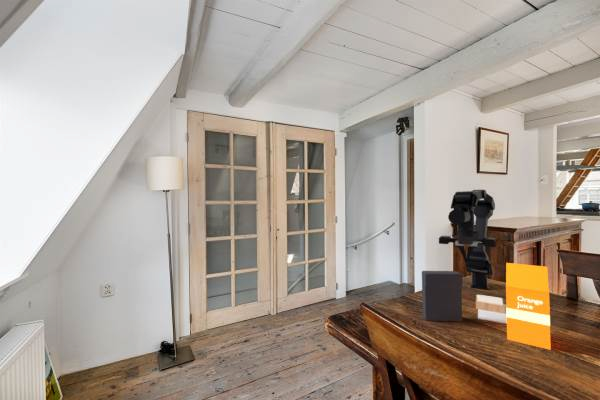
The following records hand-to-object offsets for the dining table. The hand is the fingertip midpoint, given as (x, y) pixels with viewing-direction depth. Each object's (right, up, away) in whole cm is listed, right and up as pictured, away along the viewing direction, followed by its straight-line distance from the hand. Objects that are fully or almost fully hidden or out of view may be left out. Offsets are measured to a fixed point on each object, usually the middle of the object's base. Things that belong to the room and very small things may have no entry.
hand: (466, 263), depth 108 cm
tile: (-3, -11, -10) cm, 16 cm away
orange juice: (-4, -13, -33) cm, 36 cm away
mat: (+3, -13, -17) cm, 22 cm away
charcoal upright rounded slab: (-20, -13, -20) cm, 32 cm away
